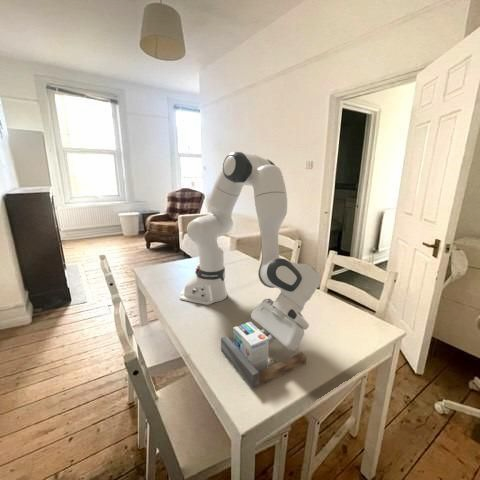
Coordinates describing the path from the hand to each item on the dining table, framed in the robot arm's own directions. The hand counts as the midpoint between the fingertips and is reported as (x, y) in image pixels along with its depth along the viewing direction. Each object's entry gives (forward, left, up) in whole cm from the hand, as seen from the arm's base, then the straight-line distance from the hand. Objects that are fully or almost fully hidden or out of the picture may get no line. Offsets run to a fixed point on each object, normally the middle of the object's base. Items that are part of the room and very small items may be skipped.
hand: (260, 345), depth 85 cm
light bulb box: (-3, -2, -5) cm, 6 cm away
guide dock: (0, +1, -5) cm, 5 cm away
